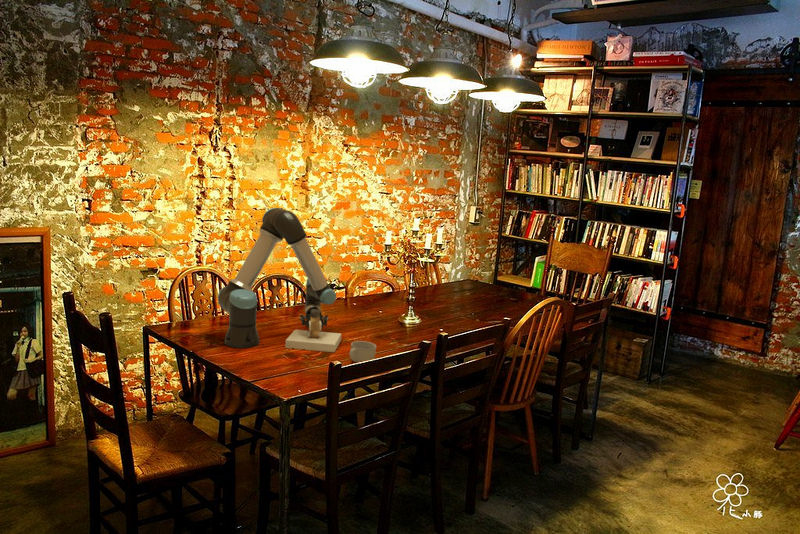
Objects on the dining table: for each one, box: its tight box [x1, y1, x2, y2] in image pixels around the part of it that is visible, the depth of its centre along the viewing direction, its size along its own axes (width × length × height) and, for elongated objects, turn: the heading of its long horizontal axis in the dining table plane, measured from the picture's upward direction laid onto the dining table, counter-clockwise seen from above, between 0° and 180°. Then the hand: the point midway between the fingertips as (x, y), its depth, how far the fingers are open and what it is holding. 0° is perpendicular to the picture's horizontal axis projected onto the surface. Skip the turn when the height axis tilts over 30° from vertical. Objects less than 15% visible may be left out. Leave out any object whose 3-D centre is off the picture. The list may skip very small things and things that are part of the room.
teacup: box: [349, 340, 377, 363], centre depth 265 cm, size 14×11×8 cm
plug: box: [309, 309, 320, 339], centre depth 286 cm, size 4×4×16 cm
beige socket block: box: [284, 329, 342, 353], centre depth 287 cm, size 22×18×4 cm
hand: (315, 327), depth 280 cm, fingers closed on plug, 4 cm apart
